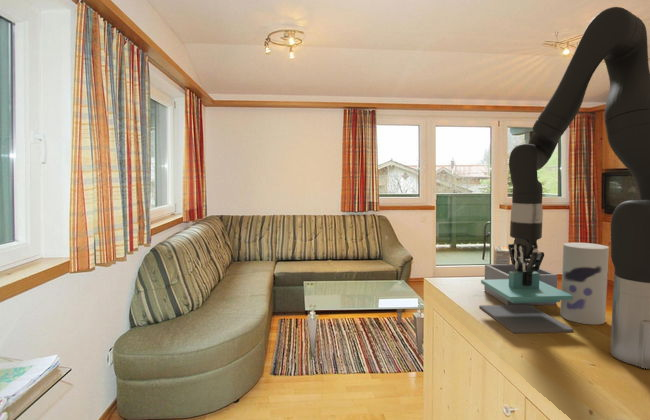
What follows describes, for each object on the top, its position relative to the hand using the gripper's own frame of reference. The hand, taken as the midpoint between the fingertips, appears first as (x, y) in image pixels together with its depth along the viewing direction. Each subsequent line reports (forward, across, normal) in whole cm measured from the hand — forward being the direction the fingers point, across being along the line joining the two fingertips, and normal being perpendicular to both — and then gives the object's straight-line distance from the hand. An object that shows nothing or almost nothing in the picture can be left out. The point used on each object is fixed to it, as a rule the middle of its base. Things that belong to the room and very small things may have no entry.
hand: (523, 283), depth 104 cm
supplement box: (+10, +33, -11) cm, 36 cm away
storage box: (+10, +18, -9) cm, 22 cm away
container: (+10, -1, -16) cm, 19 cm away
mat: (+9, 0, 0) cm, 9 cm away
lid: (+3, 0, 0) cm, 3 cm away
